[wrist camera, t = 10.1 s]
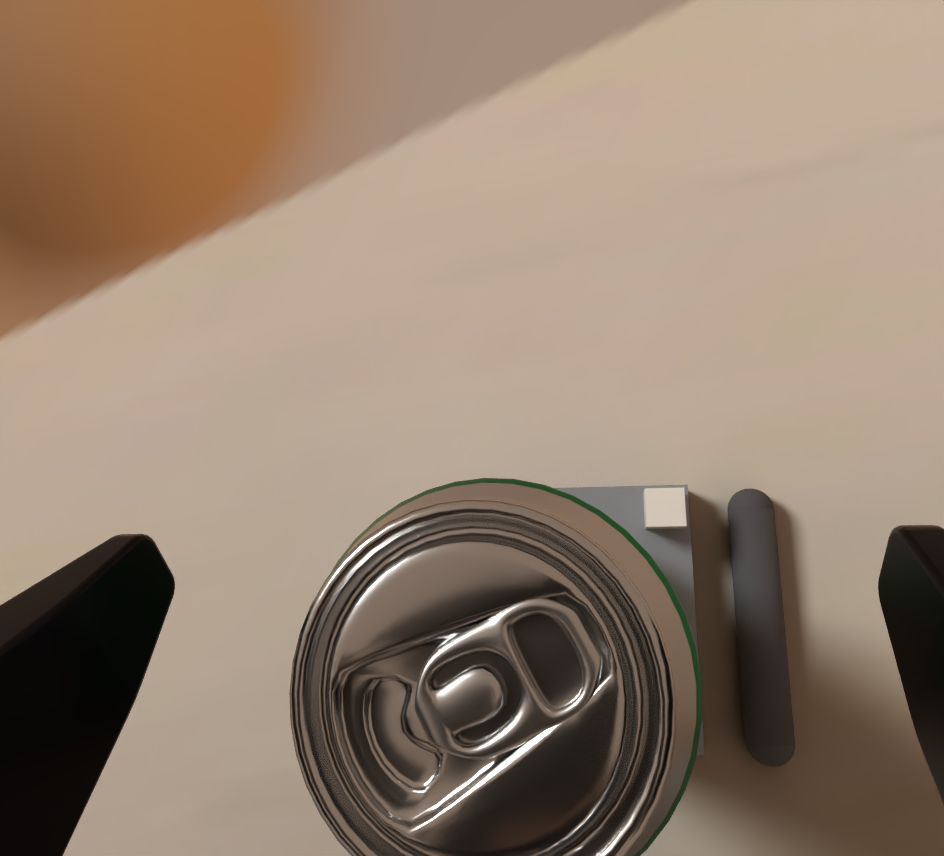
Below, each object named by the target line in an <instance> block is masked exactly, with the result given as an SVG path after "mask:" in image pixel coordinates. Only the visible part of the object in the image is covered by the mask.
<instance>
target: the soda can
mask: <svg viewBox="0 0 944 856" xmlns="http://www.w3.org/2000/svg"><path fill="white" fill-rule="evenodd" d="M290 718H291V728H292V734H293V740H294V746H295V751H296V756H297V759H298V762H299V765H300V769H301V772H302V775H303V778H304V781H305V784H306V787H307V789H308V791H309V793H310V795H311V797H312V799H313V801H314V803H315V805H316V807H317V809H318V811H319V813H320V815H321V816H322V818H323V819H324V821H325V822H326V824H327V825H328V827H329V828H330V830H331V831H332V833H333V834H334V836H335V837H336V839H337V840H338V841H339V842H340V844H341V845H342V846H343V847H344V848H345V849H346V850H347V851H348V852H349V853H350V854H351V856H640V855H641V854H642V853H644V852H645V851H646V850H647V849H648V848H649V846H650V845H651V844H652V842H653V841H654V840H655V839H656V837H657V836H658V835H659V833H660V832H661V831H662V829H663V828H664V827H665V825H666V824H667V823H668V822H669V820H670V818H671V816H672V814H673V812H674V810H675V809H676V807H677V805H678V803H679V801H680V799H681V797H682V795H683V793H684V791H685V789H686V786H687V783H688V780H689V777H690V774H691V771H692V768H693V765H694V762H695V759H696V756H697V750H698V743H699V737H700V730H701V724H702V681H701V674H700V668H699V662H698V656H697V650H696V646H695V643H694V639H693V636H692V633H691V630H690V627H689V624H688V621H687V618H686V615H685V612H684V610H683V608H682V606H681V604H680V602H679V600H678V598H677V596H676V594H675V592H674V590H673V588H672V586H671V584H670V582H669V581H668V580H667V578H666V577H665V575H664V574H663V573H662V571H661V570H660V568H659V567H658V565H657V564H656V563H655V561H654V560H653V558H652V557H651V555H650V554H649V553H648V552H647V551H646V550H645V549H644V548H643V547H642V546H641V545H640V544H639V543H638V542H637V541H636V540H635V539H634V537H633V536H632V535H631V534H630V533H629V532H628V531H627V530H626V529H624V528H623V527H622V526H620V525H619V524H618V523H616V522H615V521H614V520H612V519H611V518H610V517H609V516H607V515H606V514H605V513H603V512H602V511H601V510H599V509H597V508H595V507H593V506H592V505H590V504H588V503H586V502H584V501H582V500H581V499H579V498H577V497H575V496H573V495H571V494H568V493H565V492H562V491H560V490H557V489H554V488H551V487H549V486H546V485H542V484H537V483H532V482H527V481H521V480H516V479H495V478H482V479H474V480H466V481H458V482H453V483H450V484H446V485H443V486H439V487H436V488H433V489H429V490H426V491H424V492H422V493H420V494H418V495H416V496H414V497H412V498H409V499H407V500H405V501H403V502H401V503H400V504H398V505H397V506H395V507H394V508H392V509H391V510H389V511H388V512H386V513H385V514H383V515H382V516H381V517H379V518H378V519H376V520H375V521H374V522H373V523H372V524H371V525H370V526H369V527H368V528H367V529H366V530H365V531H363V532H362V533H361V534H360V535H359V536H358V537H357V538H356V539H355V540H354V542H353V543H352V544H351V545H350V547H349V548H348V549H347V550H346V552H345V553H344V554H343V555H342V557H341V558H340V559H339V560H338V562H337V563H336V565H335V567H334V569H333V570H332V572H331V574H330V575H329V577H328V578H327V579H326V580H325V582H324V584H323V585H322V587H321V589H320V591H319V592H318V594H317V596H316V598H315V599H314V601H313V603H312V605H311V606H310V609H309V612H308V614H307V617H306V619H305V622H304V624H303V627H302V629H301V632H300V635H299V639H298V643H297V647H296V651H295V655H294V659H293V664H292V674H291V684H290Z"/></svg>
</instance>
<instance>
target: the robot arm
mask: <svg viewBox="0 0 944 856" xmlns="http://www.w3.org/2000/svg"><path fill="white" fill-rule="evenodd" d="M174 590H175V581H174V577H173V575H172V573H171V571H170V569H169V567H168V565H167V564H166V562H165V560H164V558H163V556H162V554H161V553H160V551H159V549H158V547H157V545H156V544H155V542H154V541H153V539H152V538H150V537H149V536H148V535H144V534H121V535H117V536H114V537H112V538H110V539H109V540H107V541H105V542H104V543H102V544H100V545H99V546H97V547H96V548H94V549H92V550H91V551H89V552H87V553H86V554H84V555H82V556H81V557H79V558H77V559H76V560H74V561H73V562H71V563H69V564H68V565H66V566H64V567H63V568H61V569H59V570H58V571H56V572H54V573H53V574H51V575H50V576H48V577H46V578H45V579H43V580H41V581H40V582H38V583H36V584H35V585H33V586H31V587H30V588H28V589H27V590H25V591H23V592H22V593H20V594H18V595H17V596H15V597H13V598H12V599H10V600H8V601H7V602H5V603H4V604H2V605H0V856H63V854H64V851H65V849H66V847H67V845H68V843H69V841H70V839H71V837H72V834H73V832H74V830H75V828H76V826H77V824H78V822H79V820H80V817H81V815H82V813H83V811H84V809H85V807H86V805H87V803H88V800H89V798H90V796H91V794H92V792H93V790H94V788H95V786H96V783H97V781H98V779H99V777H100V775H101V773H102V771H103V769H104V766H105V764H106V762H107V760H108V758H109V756H110V754H111V752H112V749H113V747H114V745H115V743H116V741H117V739H118V737H119V735H120V732H121V730H122V728H123V726H124V724H125V722H126V720H127V718H128V715H129V713H130V711H131V709H132V706H133V704H134V702H135V700H136V697H137V694H138V692H139V689H140V687H141V684H142V681H143V679H144V676H145V673H146V670H147V668H148V665H149V662H150V659H151V656H152V654H153V651H154V648H155V645H156V643H157V640H158V637H159V634H160V631H161V629H162V626H163V623H164V620H165V618H166V615H167V612H168V609H169V606H170V604H171V601H172V598H173V595H174ZM878 591H879V599H880V603H881V607H882V611H883V615H884V618H885V622H886V626H887V629H888V633H889V637H890V640H891V644H892V648H893V651H894V655H895V659H896V662H897V666H898V670H899V673H900V677H901V681H902V685H903V688H904V692H905V696H906V699H907V703H908V707H909V710H910V714H911V717H912V721H913V724H914V727H915V731H916V734H917V737H918V740H919V743H920V745H921V748H922V751H923V753H924V756H925V759H926V761H927V764H928V766H929V769H930V771H931V774H932V776H933V779H934V781H935V784H936V786H937V789H938V791H939V794H940V796H941V799H942V801H943V804H944V529H943V528H941V527H939V526H934V525H902V526H898V527H896V528H894V529H893V530H892V532H891V534H890V536H889V540H888V544H887V548H886V552H885V556H884V560H883V564H882V568H881V572H880V576H879V583H878Z"/></svg>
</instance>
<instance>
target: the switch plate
mask: <svg viewBox="0 0 944 856" xmlns="http://www.w3.org/2000/svg"><path fill="white" fill-rule="evenodd" d="M554 489H557V490H560V491H562V492H565V493H568V494H571V495H573V496H575V497H577V498H579V499H581V500H582V501H584V502H586V503H588V504H590V505H592V506H593V507H595V508H597V509H599V510H601V511H602V512H603V513H605V514H606V515H607V516H609V517H610V518H611V519H612V520H614V521H615V522H616V523H618V524H619V525H620V526H622V527H623V528H624V529H626V530H627V531H628V532H629V533H630V534H631V535H632V536H633V537H634V539H635V540H636V541H637V542H638V543H639V544H640V545H641V546H642V547H643V548H644V549H645V550H646V551H647V552H648V553H649V554H650V555H651V557H652V558H653V560H654V561H655V563H656V564H657V565H658V567H659V568H660V570H661V571H662V573H663V574H664V575H665V577H666V578H667V580H668V581H669V582H670V584H671V586H672V588H673V590H674V592H675V594H676V596H677V598H678V600H679V602H680V604H681V606H682V608H683V610H684V612H685V615H686V618H687V621H688V624H689V627H690V630H691V633H692V636H693V639H694V643H695V646H696V650H697V656H698V662H699V655H698V640H697V624H696V609H695V593H694V578H693V562H692V547H691V531H690V515H689V500H688V485H663V486H623V487H583V488H554ZM697 756H703V757H705V748H704V733H703V717H702V724H701V730H700V737H699V743H698V750H697Z"/></svg>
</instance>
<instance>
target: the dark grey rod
mask: <svg viewBox="0 0 944 856" xmlns="http://www.w3.org/2000/svg"><path fill="white" fill-rule="evenodd" d="M728 522H729V535H730V548H731V562H732V575H733V588H734V601H735V615H736V628H737V641H738V654H739V668H740V681H741V694H742V707H743V721H744V734H745V742H746V746H747V749H748V750H749V752H750V754H751V755H752V756H753V757H754V758H755V759H756V760H757V761H759V762H760V763H762V764H764V765H767V766H781V765H783V764H785V763H786V762H788V761H789V760H790V759H791V757H792V755H793V753H794V749H795V740H794V729H793V717H792V706H791V695H790V684H789V672H788V661H787V650H786V639H785V627H784V616H783V605H782V594H781V582H780V571H779V560H778V549H777V537H776V526H775V515H774V507H773V504H772V501H771V500H770V498H769V497H768V496H767V495H766V494H764V493H763V492H761V491H759V490H756V489H744V490H741V491H739V492H737V493H736V494H734V495H733V497H732V498H731V499H730V501H729V504H728Z"/></svg>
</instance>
